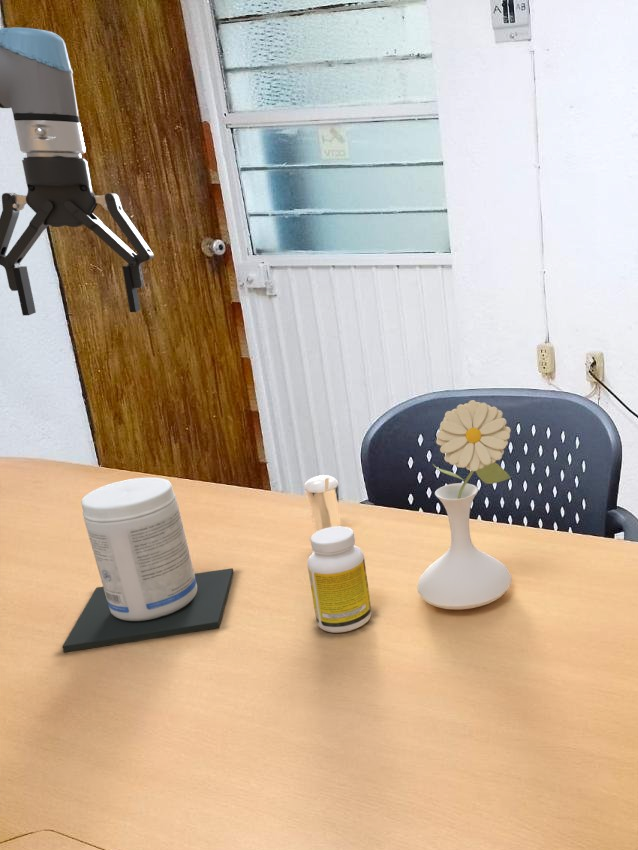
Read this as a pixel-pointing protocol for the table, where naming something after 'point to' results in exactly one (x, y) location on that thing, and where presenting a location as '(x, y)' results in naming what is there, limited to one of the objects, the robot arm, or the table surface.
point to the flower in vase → (467, 510)
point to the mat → (195, 616)
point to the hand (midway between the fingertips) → (83, 312)
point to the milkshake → (323, 501)
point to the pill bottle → (338, 580)
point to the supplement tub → (140, 548)
